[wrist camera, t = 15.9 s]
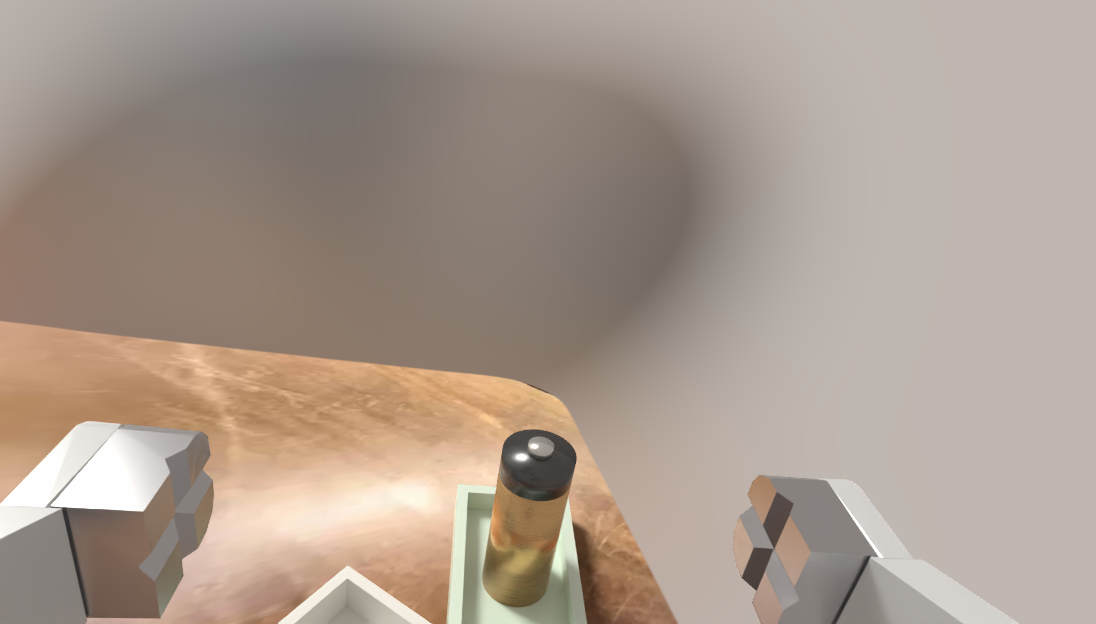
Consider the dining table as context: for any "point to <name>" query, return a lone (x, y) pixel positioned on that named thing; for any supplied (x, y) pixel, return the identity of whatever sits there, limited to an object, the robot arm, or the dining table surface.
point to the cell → (527, 516)
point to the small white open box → (352, 604)
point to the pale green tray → (470, 607)
